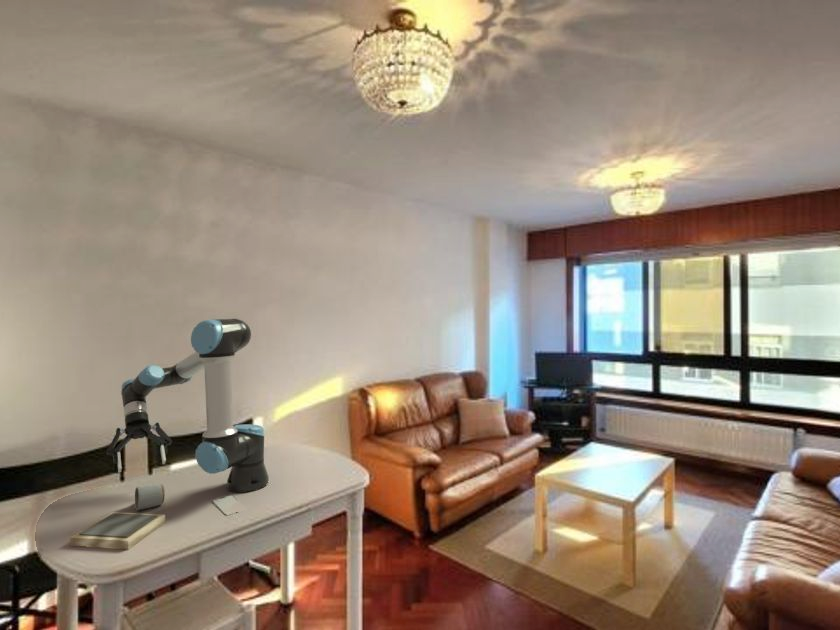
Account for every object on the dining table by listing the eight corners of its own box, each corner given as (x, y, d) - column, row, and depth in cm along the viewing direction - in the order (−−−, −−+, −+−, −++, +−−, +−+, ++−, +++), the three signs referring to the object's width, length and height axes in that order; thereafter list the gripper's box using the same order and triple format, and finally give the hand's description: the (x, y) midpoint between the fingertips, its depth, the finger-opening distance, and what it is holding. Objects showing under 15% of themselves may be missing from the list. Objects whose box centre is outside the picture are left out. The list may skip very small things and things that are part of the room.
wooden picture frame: (165, 522, 144) (165, 513, 144) (128, 549, 128) (128, 539, 128) (112, 519, 146) (112, 510, 146) (70, 545, 130) (69, 535, 130)
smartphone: (225, 515, 149) (211, 500, 160) (225, 517, 149) (211, 502, 160) (248, 509, 154) (232, 494, 165) (248, 511, 154) (232, 496, 165)
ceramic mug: (165, 506, 155) (165, 484, 155) (138, 514, 150) (138, 491, 150) (158, 497, 163) (158, 476, 163) (132, 503, 158) (132, 482, 158)
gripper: (171, 416, 182) (179, 463, 171) (95, 426, 166) (99, 479, 155) (174, 406, 178) (183, 453, 166) (96, 415, 162) (100, 468, 151)
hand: (142, 466), depth 161 cm, fingers open, 13 cm apart
